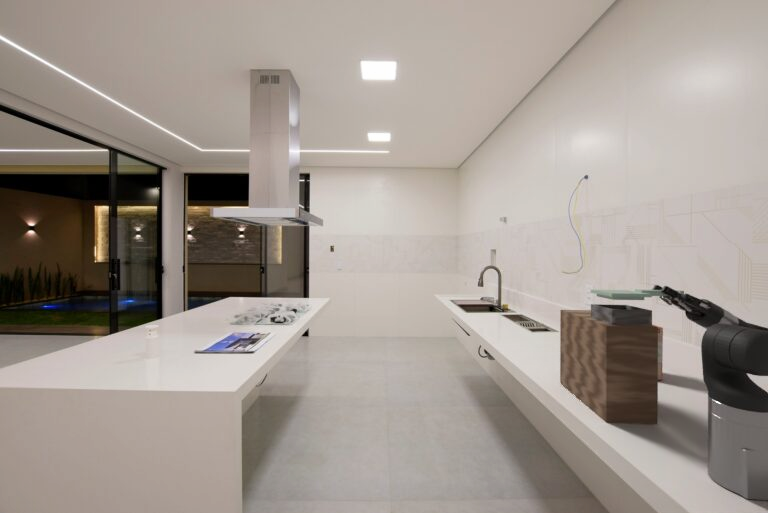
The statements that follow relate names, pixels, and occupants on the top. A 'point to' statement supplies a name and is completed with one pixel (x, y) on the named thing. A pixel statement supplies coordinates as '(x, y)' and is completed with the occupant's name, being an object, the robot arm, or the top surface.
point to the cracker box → (660, 351)
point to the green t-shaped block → (629, 294)
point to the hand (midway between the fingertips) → (659, 288)
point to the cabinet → (611, 361)
